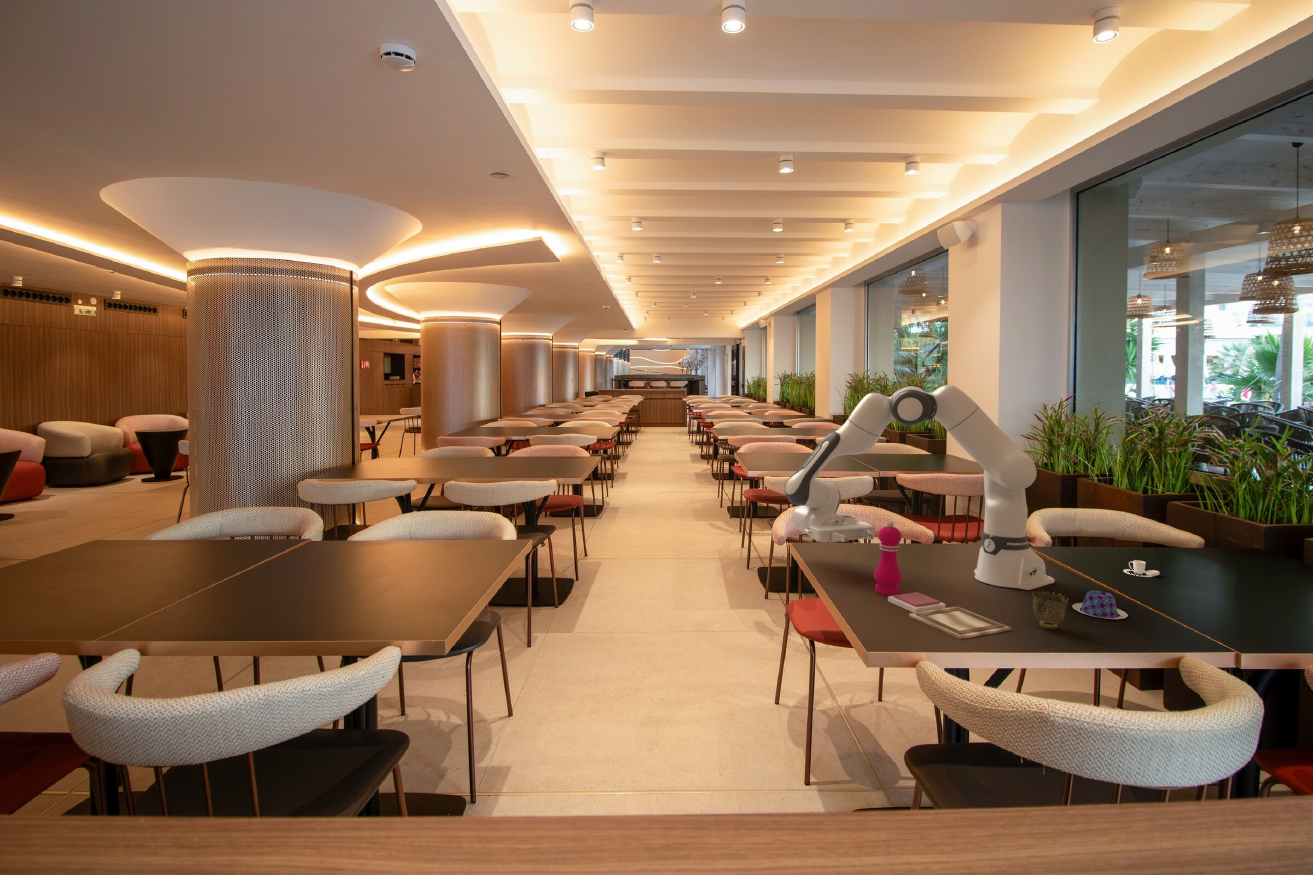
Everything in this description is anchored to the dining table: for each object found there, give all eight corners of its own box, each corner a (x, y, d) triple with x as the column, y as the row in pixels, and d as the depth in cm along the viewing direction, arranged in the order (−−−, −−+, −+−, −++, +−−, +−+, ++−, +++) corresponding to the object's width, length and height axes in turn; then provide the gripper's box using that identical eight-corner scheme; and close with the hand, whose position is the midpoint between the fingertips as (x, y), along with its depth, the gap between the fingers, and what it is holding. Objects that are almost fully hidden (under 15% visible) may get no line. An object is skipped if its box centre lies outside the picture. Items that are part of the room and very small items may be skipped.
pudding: (1099, 604, 183) (1100, 585, 183) (1139, 620, 172) (1141, 599, 171) (1061, 607, 181) (1062, 587, 180) (1099, 623, 169) (1101, 602, 169)
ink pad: (916, 597, 186) (917, 590, 186) (945, 608, 177) (945, 602, 177) (887, 601, 182) (888, 594, 182) (915, 613, 173) (915, 606, 173)
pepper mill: (902, 590, 191) (905, 520, 190) (899, 598, 185) (903, 525, 183) (875, 587, 194) (878, 517, 193) (871, 594, 188) (874, 522, 186)
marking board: (957, 608, 177) (957, 605, 177) (1010, 630, 162) (1010, 627, 162) (909, 616, 171) (909, 613, 171) (959, 639, 156) (960, 635, 156)
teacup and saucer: (1163, 577, 210) (1164, 564, 210) (1146, 580, 207) (1147, 566, 207) (1134, 569, 218) (1135, 557, 218) (1117, 572, 216) (1118, 559, 215)
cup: (1071, 634, 160) (1073, 601, 159) (1036, 632, 162) (1038, 598, 161) (1059, 623, 167) (1061, 591, 167) (1026, 621, 169) (1028, 589, 168)
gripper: (801, 519, 208) (830, 529, 195) (856, 515, 216) (887, 525, 203) (800, 539, 209) (828, 551, 196) (855, 535, 217) (885, 546, 204)
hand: (859, 537), depth 200 cm, fingers open, 8 cm apart
